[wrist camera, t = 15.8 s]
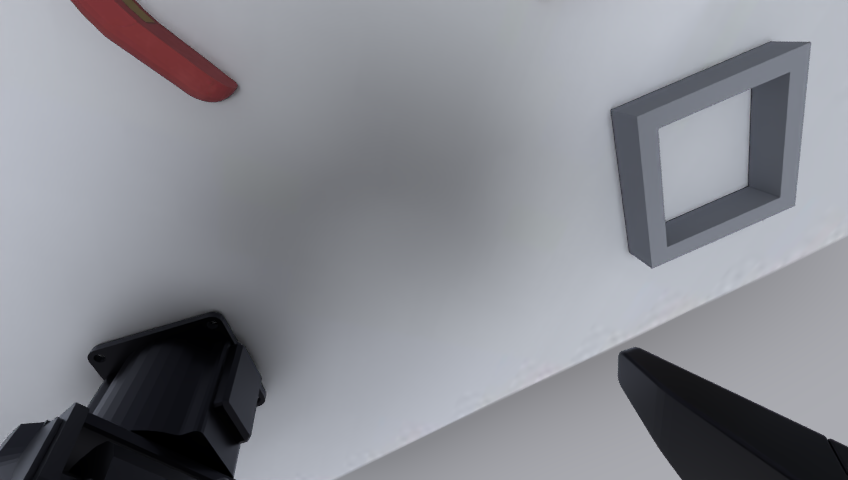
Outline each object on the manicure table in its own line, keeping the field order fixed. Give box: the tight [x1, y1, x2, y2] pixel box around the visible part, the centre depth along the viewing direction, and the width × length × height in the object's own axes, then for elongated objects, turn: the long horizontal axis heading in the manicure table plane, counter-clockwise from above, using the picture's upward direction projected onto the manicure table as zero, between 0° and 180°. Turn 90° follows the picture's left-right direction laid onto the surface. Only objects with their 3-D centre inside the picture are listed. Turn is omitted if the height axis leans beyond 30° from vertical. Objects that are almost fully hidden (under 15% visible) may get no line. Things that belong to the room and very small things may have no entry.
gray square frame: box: [611, 42, 811, 268], centre depth 22 cm, size 9×9×2 cm
